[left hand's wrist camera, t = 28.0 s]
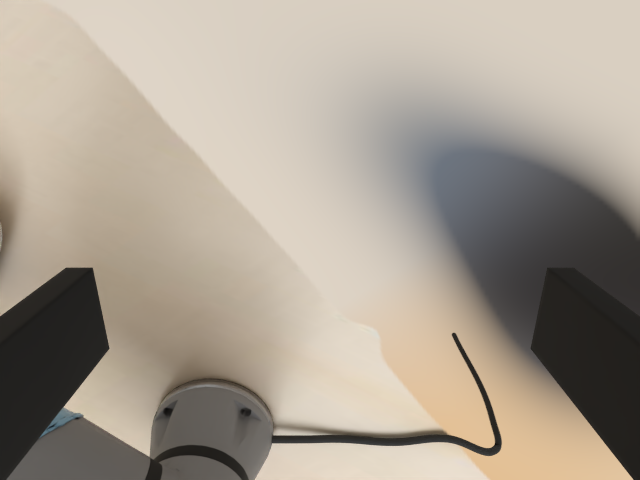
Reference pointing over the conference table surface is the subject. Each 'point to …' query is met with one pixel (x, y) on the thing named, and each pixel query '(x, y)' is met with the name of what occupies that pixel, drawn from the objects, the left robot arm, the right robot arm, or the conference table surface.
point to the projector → (0, 236)
